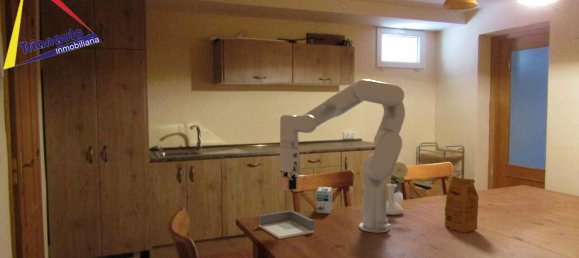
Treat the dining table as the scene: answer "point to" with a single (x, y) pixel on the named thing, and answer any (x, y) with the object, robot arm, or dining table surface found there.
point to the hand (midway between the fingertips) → (289, 187)
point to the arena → (286, 224)
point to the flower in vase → (391, 205)
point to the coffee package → (461, 205)
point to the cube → (287, 183)
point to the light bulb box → (324, 199)
